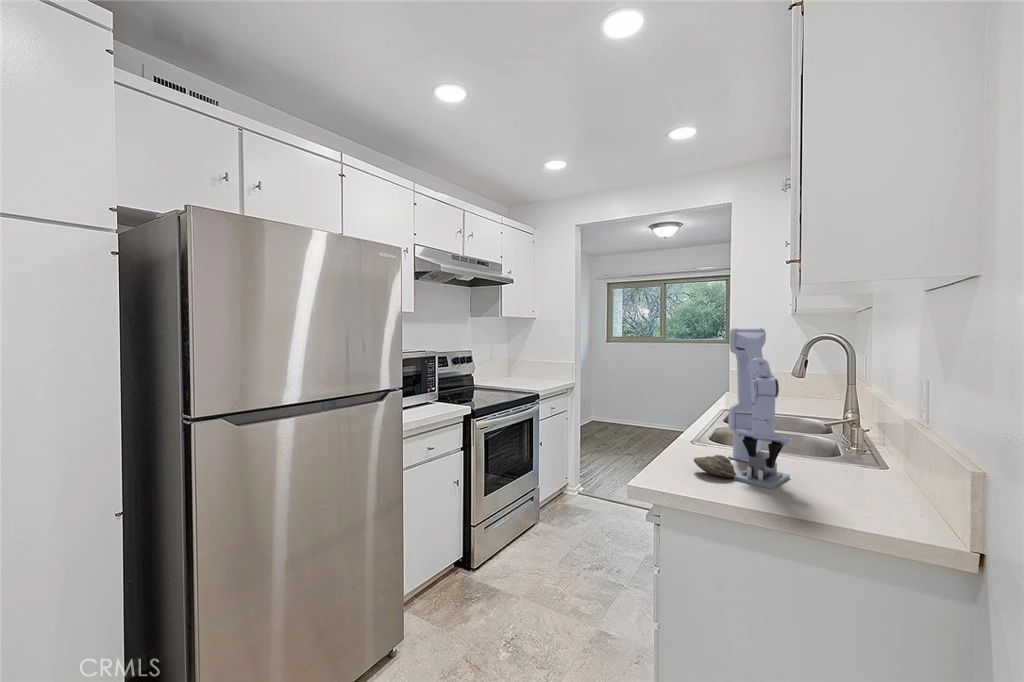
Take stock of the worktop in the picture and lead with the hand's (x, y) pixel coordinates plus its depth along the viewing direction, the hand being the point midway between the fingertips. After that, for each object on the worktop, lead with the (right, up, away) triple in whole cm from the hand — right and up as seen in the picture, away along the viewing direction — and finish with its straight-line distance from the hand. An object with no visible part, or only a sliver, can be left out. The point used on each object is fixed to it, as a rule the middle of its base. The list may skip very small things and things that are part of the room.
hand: (762, 465), depth 129 cm
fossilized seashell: (-12, -4, +4) cm, 14 cm away
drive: (0, -3, 0) cm, 3 cm away
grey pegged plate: (0, -4, 0) cm, 4 cm away
